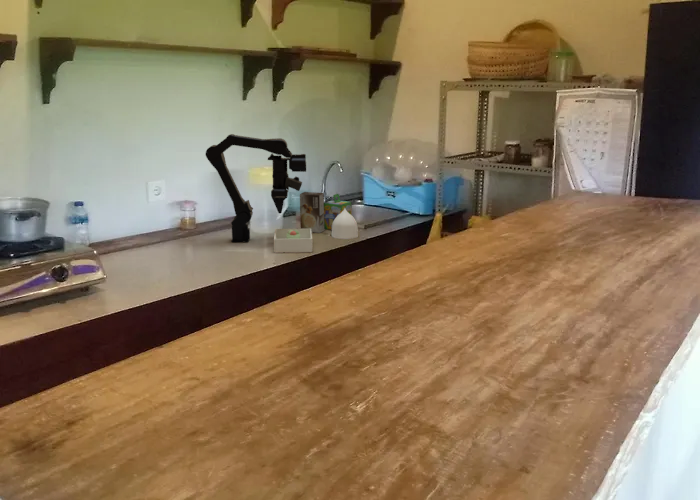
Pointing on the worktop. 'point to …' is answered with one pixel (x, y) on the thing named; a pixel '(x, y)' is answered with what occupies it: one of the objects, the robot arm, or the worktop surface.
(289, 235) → the salad portion
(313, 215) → the coffee box
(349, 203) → the chalk box
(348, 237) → the teardrop
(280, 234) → the serving bin
